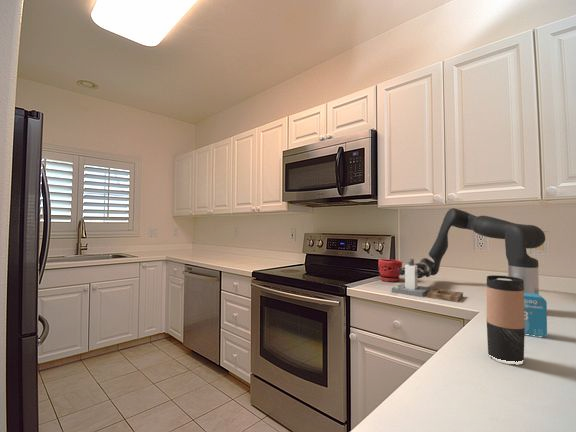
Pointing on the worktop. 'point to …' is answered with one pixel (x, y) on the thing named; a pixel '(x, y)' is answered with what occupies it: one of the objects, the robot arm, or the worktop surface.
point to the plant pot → (389, 269)
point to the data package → (535, 315)
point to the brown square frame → (445, 295)
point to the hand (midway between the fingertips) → (409, 274)
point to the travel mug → (505, 317)
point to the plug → (411, 275)
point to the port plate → (411, 290)
